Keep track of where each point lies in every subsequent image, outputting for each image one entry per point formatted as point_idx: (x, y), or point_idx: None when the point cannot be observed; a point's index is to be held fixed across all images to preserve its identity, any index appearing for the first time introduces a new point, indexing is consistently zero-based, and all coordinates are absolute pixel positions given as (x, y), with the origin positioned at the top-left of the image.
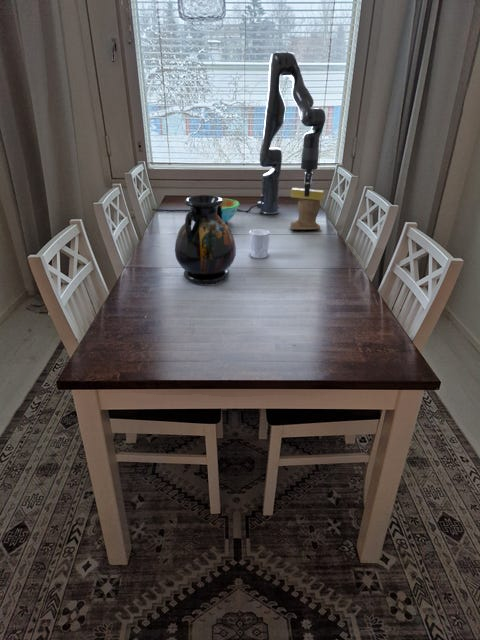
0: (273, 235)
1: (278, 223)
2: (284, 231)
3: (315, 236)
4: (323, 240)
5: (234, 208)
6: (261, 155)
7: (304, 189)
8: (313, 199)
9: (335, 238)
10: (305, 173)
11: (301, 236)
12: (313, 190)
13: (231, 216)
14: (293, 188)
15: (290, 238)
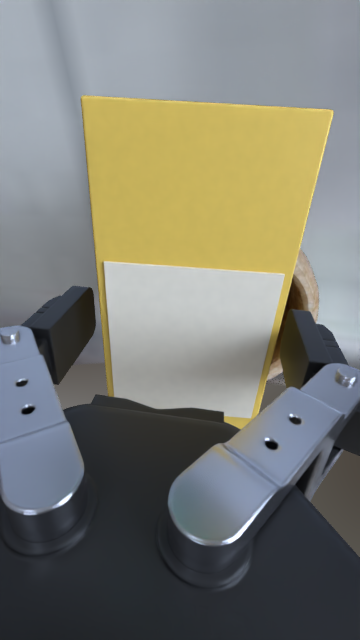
0: (32, 2)
1: (335, 22)
2: (136, 90)
3: (86, 275)
4: (40, 304)
5: None
6: None
7: (194, 315)
8: (276, 353)
9: (82, 352)
10: (166, 535)
11: (66, 204)
12: (178, 403)
13: None
14: (224, 139)
15: (13, 137)
